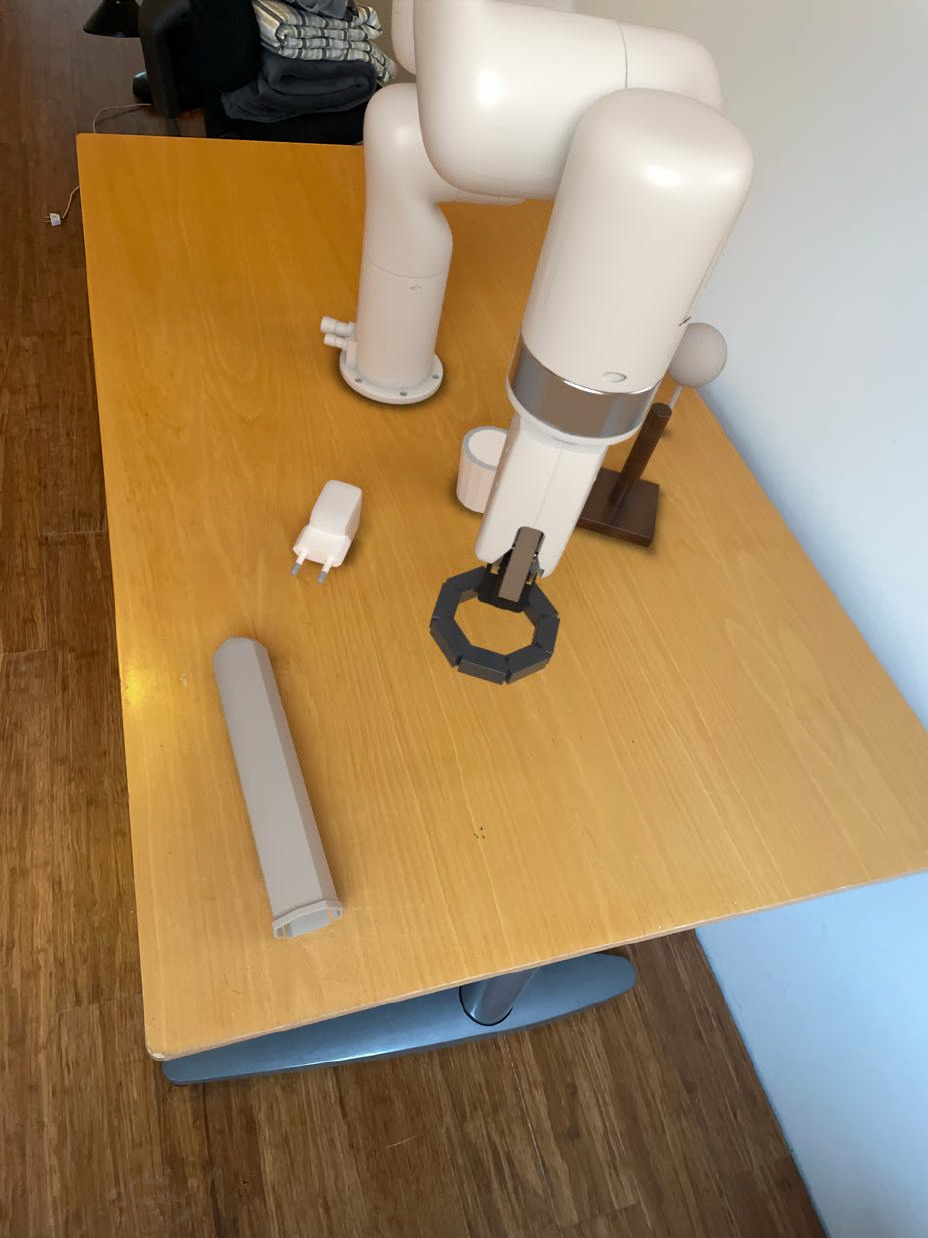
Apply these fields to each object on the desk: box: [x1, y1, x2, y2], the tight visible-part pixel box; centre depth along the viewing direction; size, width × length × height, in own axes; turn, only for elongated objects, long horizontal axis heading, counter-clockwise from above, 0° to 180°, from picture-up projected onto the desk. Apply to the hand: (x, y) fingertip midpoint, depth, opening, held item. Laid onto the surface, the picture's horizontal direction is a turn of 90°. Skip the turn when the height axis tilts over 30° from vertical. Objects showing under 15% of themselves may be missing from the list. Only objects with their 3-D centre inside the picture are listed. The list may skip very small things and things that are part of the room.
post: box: [575, 401, 673, 549], centre depth 87 cm, size 9×9×14 cm
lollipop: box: [666, 322, 728, 411], centre depth 97 cm, size 7×7×15 cm
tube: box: [211, 636, 344, 940], centre depth 65 cm, size 5×5×25 cm
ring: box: [428, 565, 561, 686], centre depth 54 cm, size 8×8×1 cm
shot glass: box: [455, 425, 508, 514], centre depth 88 cm, size 7×7×7 cm
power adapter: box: [289, 479, 363, 585], centre depth 79 cm, size 11×5×6 cm, turn 166°
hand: (503, 589), depth 56 cm, fingers closed on ring, 1 cm apart
